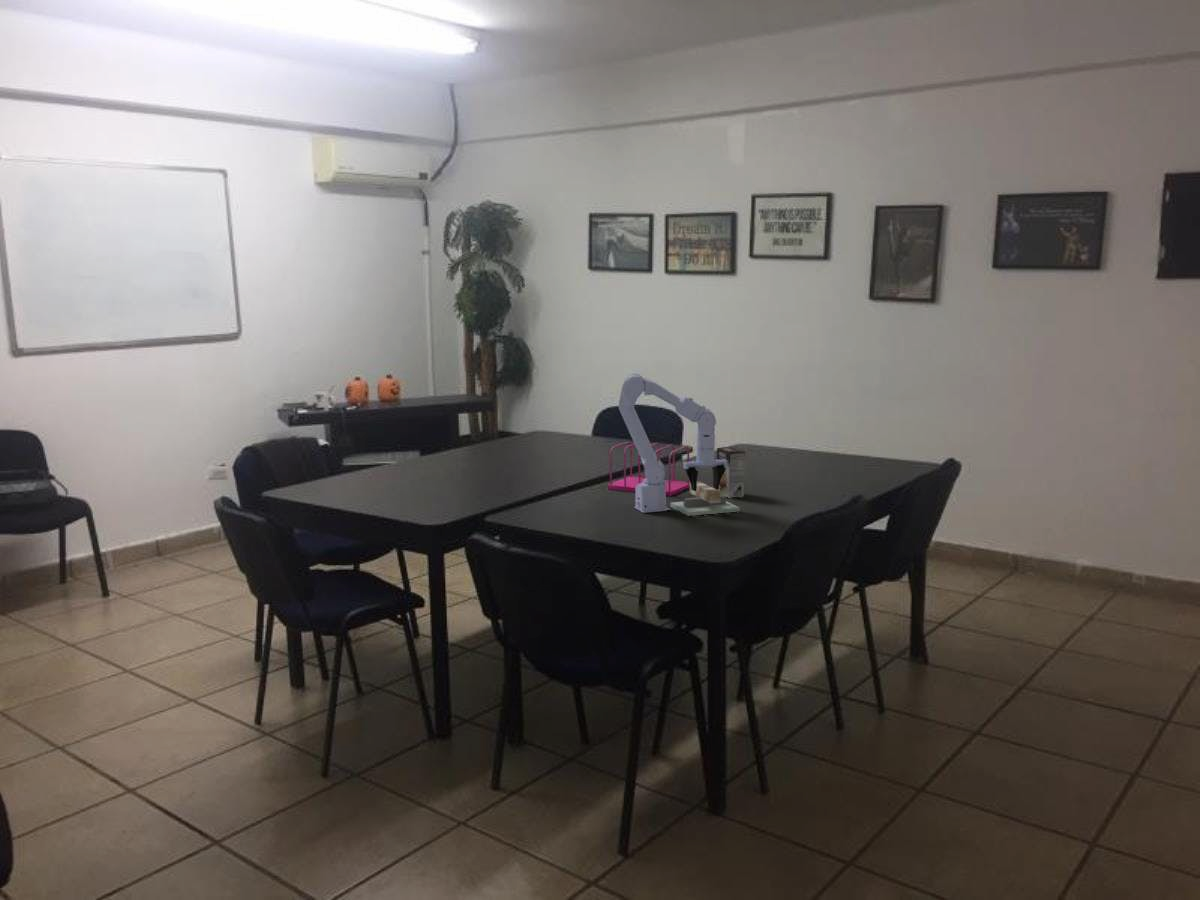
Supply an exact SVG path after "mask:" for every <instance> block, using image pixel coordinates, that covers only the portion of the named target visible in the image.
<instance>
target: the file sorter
mask: <svg viewBox="0 0 1200 900" xmlns="http://www.w3.org/2000/svg"><path fill="white" fill-rule="evenodd" d="M627 444H629V445H627ZM625 445H627V446H626V447H625V448H624V451H623V478H622V479H619V480H616V481H613V480H612V479H613V474H612V473H613V469H612V468H613V467H612V466H613V465H612V464H613V463H612V462H613V456H612V455H613V450H614V449H616V448H618V447H621V446H625ZM651 446H652V447H654V446H657V450H655V451H654V453H655V454H656V455H657V454H658V457H657V458H658V459H659V460H660V461H661V451H663V450H666V449H668V448H672V451H671V452H670V454H669V456H668V480H667V479H665V480H666V497H672V495H673V496H674V494H675V495H677V494H679V493H681V492H683V490H684V491H686V490H688V489H690V488H689V487H690V480H689V477H688V475H687V474H686V480H687V481H677V480H675V468H676V467H675V464H676V463H675V462H676V461H675V460H676V459H675V455H676V454H675V453H677V452H679V451H681V450H683V449H686V451H687V454H686V455H687V459H686V460H687V461H686V462H690V448H689V446H688V445H684V446H682V447H680V448H677V449H675V446H674V445H673V444H669V445H666V446H664V447H660V443H658V442H655V443H652V444H651ZM633 447H636V446H635V444H634V443H633V444H631V442H629V441H626V442H623V443H619V444H617V445H614V446H612V448H611V449H610V452H609V483H608V484H607V490H612V489H613V491H614V490H615V491H624V492H633V493H635V489H636V485H637V484H640V483H643V481H644V479H645V478H646V477H645V468H644V467H643V477H641V457H640V455H639V454H638V456H637V457H638V459H637V461H638V463H637V465H638V466H637V467H638V468H637V469H638V476H633ZM628 449H629V450H630V451H629V455H630V456H629V457H630V461H629V466H630V467H629V469H630V470H629V471H630V475H629V476H627V467H626V466H627V464H626V463H627V462H626V461H627V460H626V459H627V458H626V454H627V450H628ZM671 460H672V462H671ZM671 463H672V467H671ZM671 468H672V480H671ZM687 488H688V489H687ZM685 489H686V490H685ZM678 492H679V493H678Z"/></svg>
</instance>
